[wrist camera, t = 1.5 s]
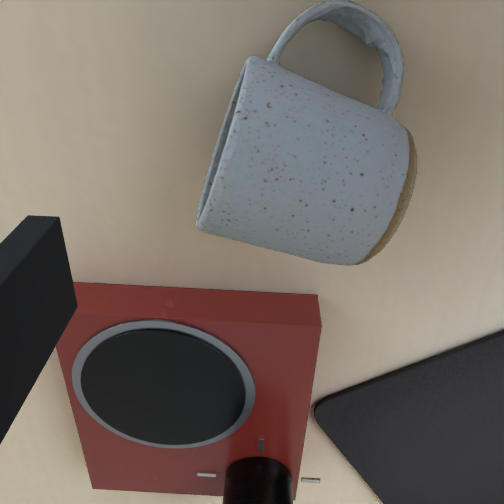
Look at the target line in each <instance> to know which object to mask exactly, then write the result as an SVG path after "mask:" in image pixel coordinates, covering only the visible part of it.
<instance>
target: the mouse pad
mask: <svg viewBox="0 0 504 504" xmlns="http://www.w3.org/2000/svg"><path fill="white" fill-rule="evenodd" d="M314 416H315V419H316V421H317V423H318V424H319V425H320V427H321V428H322V429H323V430H324V432H325V433H326V434H327V435H328V436H329V438H330V439H331V440H332V441H333V443H334V444H335V445H336V446H337V447H338V449H339V450H340V451H341V452H342V453H343V455H344V456H345V457H346V458H347V460H348V461H349V462H350V463H351V464H352V466H353V467H354V468H355V469H356V470H357V472H358V473H359V474H360V475H361V477H362V478H363V479H364V480H365V481H366V483H367V484H368V485H369V486H370V488H371V489H372V490H373V491H374V492H375V494H376V495H377V496H378V497H379V498H380V500H381V501H382V502H383V503H384V504H504V332H501V333H498V334H496V335H493V336H490V337H488V338H485V339H482V340H480V341H477V342H474V343H471V344H469V345H466V346H463V347H461V348H458V349H455V350H453V351H450V352H447V353H445V354H442V355H439V356H437V357H434V358H431V359H429V360H426V361H423V362H421V363H418V364H415V365H413V366H410V367H407V368H405V369H402V370H399V371H397V372H394V373H391V374H389V375H386V376H383V377H381V378H378V379H375V380H373V381H370V382H367V383H365V384H362V385H359V386H357V387H354V388H351V389H349V390H346V391H343V392H341V393H338V394H335V395H333V396H330V397H328V398H325V399H324V400H322V401H320V402H319V403H318V404H317V405H316V406H315V408H314Z"/></svg>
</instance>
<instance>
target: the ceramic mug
mask: <svg viewBox="0 0 504 504" xmlns="http://www.w3.org/2000/svg"><path fill="white" fill-rule="evenodd" d="M315 20H323V21H327V20H329V21H331V22H334V23H335V24H337V25H339V26H341V27H343V28H344V29H346V30H348V31H350V32H352V33H354V34H355V35H357V36H358V37H359V38H361V39H362V40H363V41H364V43H365V45H366V46H368V47H372V48H373V47H375V48H376V49H377V51H378V53H379V55H380V59H381V63H382V67H383V80H382V85H383V86H382V91H381V95H380V101H379V103H378V106H377V109H376V108H374V107H372V106H369V105H367V104H364V103H362V102H359V101H357V100H354V99H351V98H348V97H346V96H343V95H341V94H338V93H336V92H334V91H332V90H330V89H328V88H326V87H324V86H322V85H320V84H317V83H315V82H313V81H311V80H309V79H306V78H304V77H302V76H300V75H297V74H295V73H293V72H291V71H288V70H285V69H283V68H282V67H280V63H279V58H280V55H281V53H282V51H283V49H284V48H285V46H286V45H287V43H288V42H289V41H290V39H291V38H292V37H293V36H294V35H295V34H296V32H297V31H298V30H299V29H300V28H302V27H303V26H305V25H306V24H307V23H310V22H312V21H315ZM402 82H403V57H402V53H401V50H400V47H399V44H398V42H397V40H396V38H395V36H394V34H393V32H392V30H391V29H390V28H389V27H388V25H387V24H386V23H385V22H384V21H383V20H382V19H381V18H380V17H379V16H377V15H376V14H375V13H373V12H372V11H370V10H368V9H366V8H364V7H363V6H361V5H359V4H356V3H353V2H349V1H345V0H329V1H324V2H321V3H319V4H316V5H314V6H312V7H311V8H309V9H307V10H306V11H304V12H302V13H301V14H300V15H299V16H297V17H296V18H295V19H294V20H293V21H292V22H291V23H290V24H289V25H288V27H287V28H286V29H285V30H284V32H283V33H282V35H281V36H280V38H279V39H278V41H277V42H276V44H275V45H274V47H273V49H272V50H271V52H270V53H269V55H268V58H267V59H266V60H264V59H261V58H259V57H256V56H250V57H249V58H248V59H247V60H246V62H245V64H244V66H243V69H242V71H241V73H240V75H239V78H238V81H237V83H236V86H235V89H234V91H233V94H232V98H231V101H230V104H229V107H228V109H227V111H226V115H225V118H224V121H223V124H222V127H221V131H220V134H219V136H218V139H217V143H216V146H215V149H214V153H213V156H212V160H211V163H210V166H209V170H208V173H207V177H206V180H205V183H204V188H203V192H202V195H201V200H200V204H199V209H198V215H197V219H196V227H197V228H198V229H199V230H201V231H203V232H206V233H209V234H213V235H217V236H222V237H226V238H230V239H234V240H237V241H241V242H245V243H249V244H253V245H256V246H260V247H264V248H267V249H271V250H276V251H280V252H284V253H288V254H292V255H295V256H299V257H302V258H306V259H309V260H313V261H317V262H321V263H326V264H337V265H358V264H361V263H363V262H366V261H367V260H369V259H370V258H372V257H373V256H375V255H376V254H377V253H379V252H380V251H381V250H382V249H383V248H384V247H385V245H386V244H387V243H388V241H389V240H390V239H391V238H392V236H393V235H394V233H395V232H396V230H397V228H398V226H399V224H400V222H401V221H402V219H403V217H404V214H405V212H406V209H407V206H408V204H409V201H410V198H411V196H412V192H413V188H414V184H415V179H416V174H417V155H416V148H415V145H414V141H413V138H412V136H411V134H410V132H409V131H408V130H407V129H406V128H405V127H404V126H403V125H401V124H400V123H398V122H397V121H396V120H394V119H393V117H392V113H393V111H394V109H395V107H396V105H397V101H398V98H399V96H400V92H401V86H402Z"/></svg>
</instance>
